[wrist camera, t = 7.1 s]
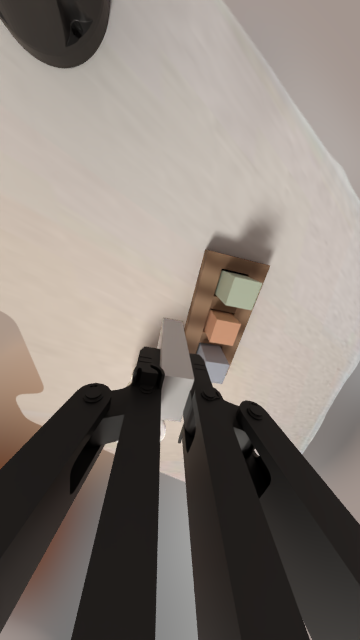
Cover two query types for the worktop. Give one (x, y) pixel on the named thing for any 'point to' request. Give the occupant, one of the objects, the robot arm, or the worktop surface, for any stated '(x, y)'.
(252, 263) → the brown board
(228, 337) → the terracotta toy cube
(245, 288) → the sage green block
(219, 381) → the blue-gray block
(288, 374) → the worktop surface
